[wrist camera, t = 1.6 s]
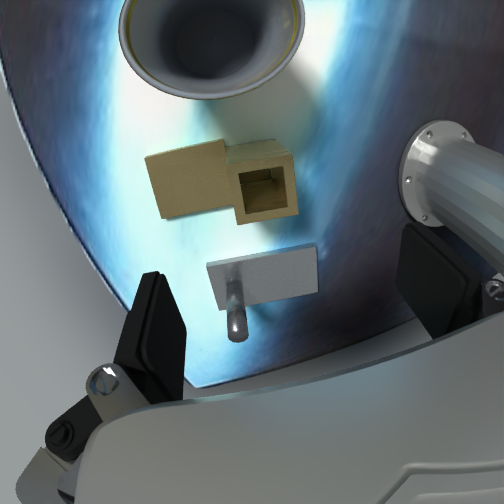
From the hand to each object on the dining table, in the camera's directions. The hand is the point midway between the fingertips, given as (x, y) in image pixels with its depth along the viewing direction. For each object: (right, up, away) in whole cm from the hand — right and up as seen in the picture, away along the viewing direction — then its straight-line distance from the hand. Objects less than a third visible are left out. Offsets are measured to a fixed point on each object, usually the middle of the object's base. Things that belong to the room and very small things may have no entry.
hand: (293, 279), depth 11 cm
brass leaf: (-5, +8, +15) cm, 18 cm away
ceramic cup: (-4, +20, +8) cm, 22 cm away
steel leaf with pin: (0, -2, +21) cm, 21 cm away
